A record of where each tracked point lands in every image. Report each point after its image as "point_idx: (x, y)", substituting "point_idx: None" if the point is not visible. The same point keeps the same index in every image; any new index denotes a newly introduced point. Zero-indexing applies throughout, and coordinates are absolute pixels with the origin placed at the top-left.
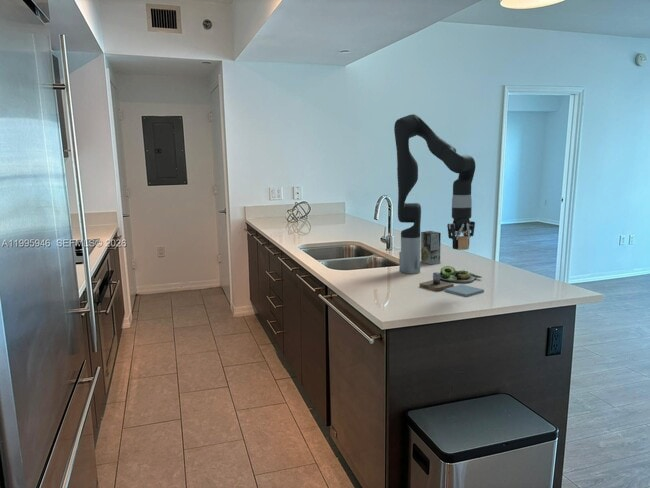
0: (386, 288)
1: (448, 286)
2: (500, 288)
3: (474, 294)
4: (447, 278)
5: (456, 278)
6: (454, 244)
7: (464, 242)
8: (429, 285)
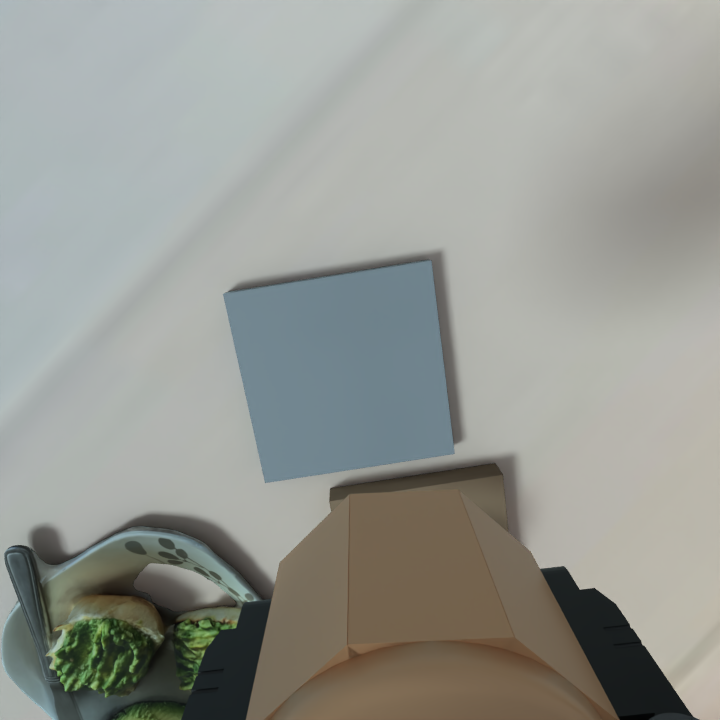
0: (697, 668)
1: (384, 488)
2: (49, 299)
3: (337, 274)
4: None
5: (186, 618)
6: (638, 656)
7: (494, 583)
8: None
